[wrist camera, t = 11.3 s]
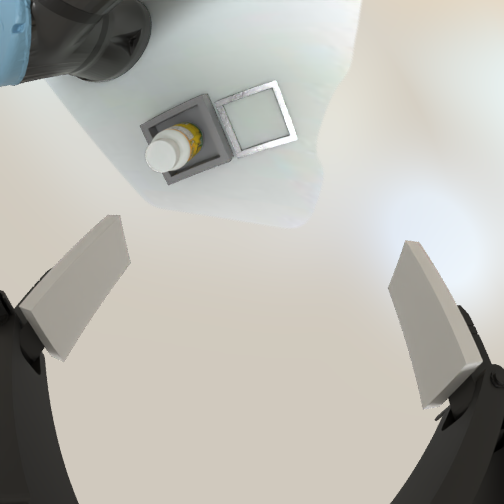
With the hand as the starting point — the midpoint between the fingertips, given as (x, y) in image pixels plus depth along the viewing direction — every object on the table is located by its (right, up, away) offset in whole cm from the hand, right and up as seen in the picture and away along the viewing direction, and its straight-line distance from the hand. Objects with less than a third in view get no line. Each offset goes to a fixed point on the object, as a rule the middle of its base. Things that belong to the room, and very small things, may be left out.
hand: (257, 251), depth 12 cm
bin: (-9, +17, +25) cm, 31 cm away
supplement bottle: (-10, +16, +25) cm, 31 cm away
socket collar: (0, +18, +23) cm, 29 cm away
